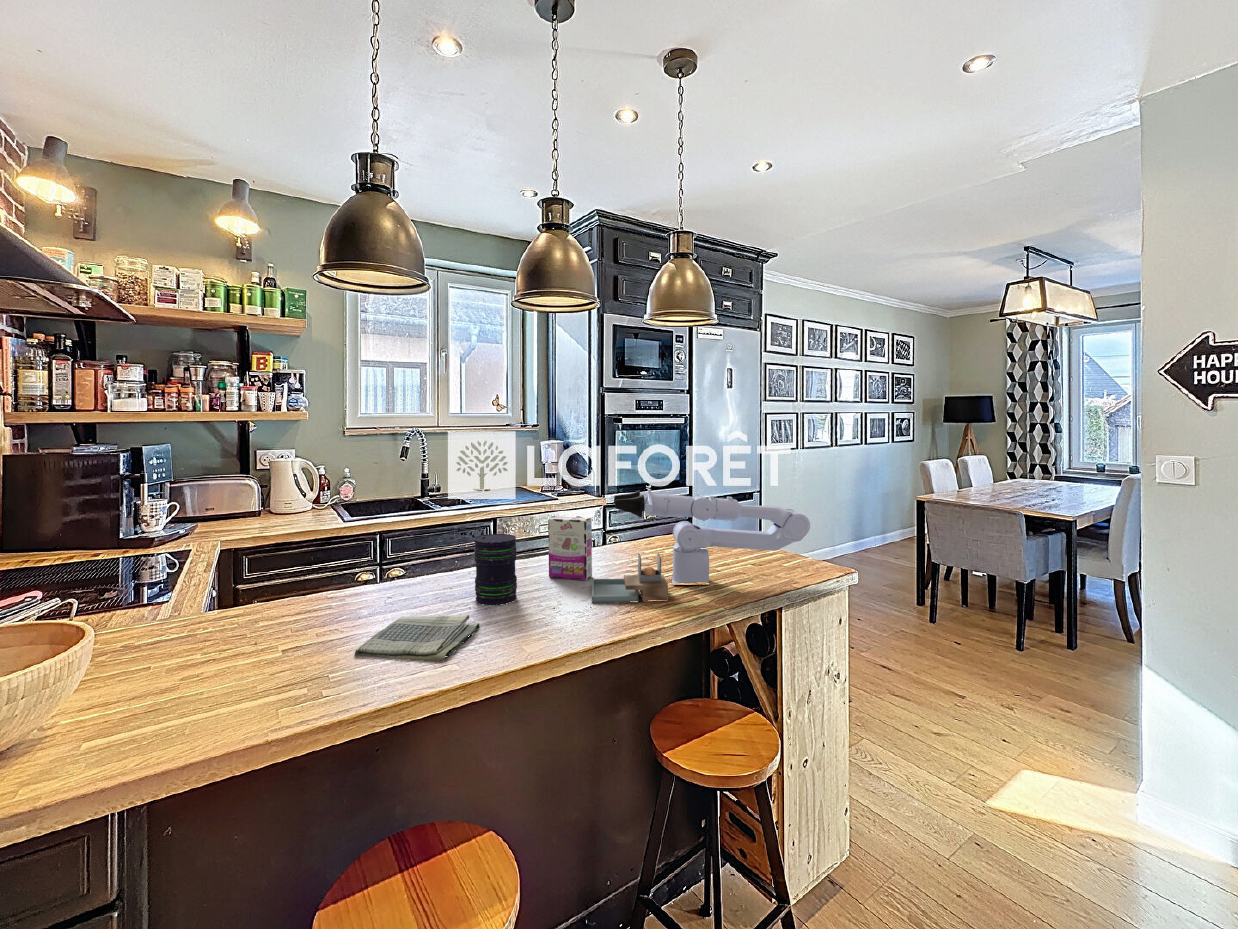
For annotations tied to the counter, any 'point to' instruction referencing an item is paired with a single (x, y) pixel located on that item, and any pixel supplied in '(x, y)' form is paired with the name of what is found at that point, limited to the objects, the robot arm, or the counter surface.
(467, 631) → the dish towel
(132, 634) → the counter surface
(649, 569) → the ball
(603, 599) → the tray
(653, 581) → the sleeve
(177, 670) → the counter surface
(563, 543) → the candy bar box
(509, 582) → the storage jar
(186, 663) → the counter surface
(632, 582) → the stand
